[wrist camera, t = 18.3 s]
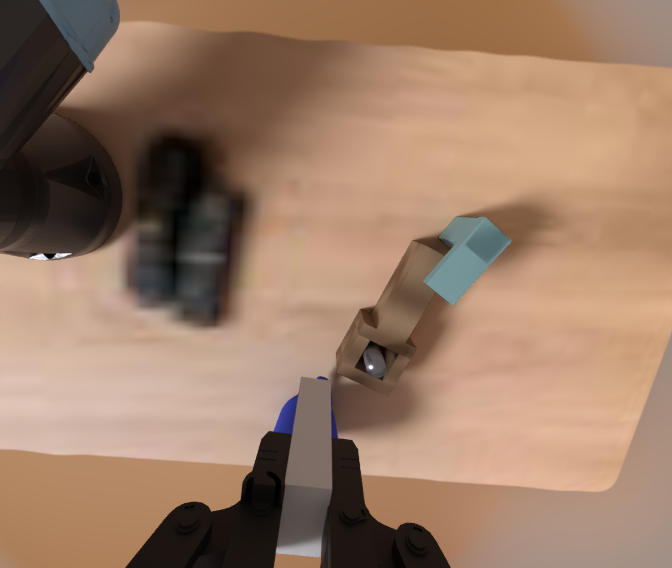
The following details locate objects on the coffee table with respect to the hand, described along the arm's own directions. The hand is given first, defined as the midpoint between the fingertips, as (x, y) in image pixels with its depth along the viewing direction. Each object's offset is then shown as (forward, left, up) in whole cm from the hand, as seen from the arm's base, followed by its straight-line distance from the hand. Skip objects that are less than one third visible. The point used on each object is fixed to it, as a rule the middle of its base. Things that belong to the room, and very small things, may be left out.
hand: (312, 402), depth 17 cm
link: (+8, +4, -22) cm, 24 cm away
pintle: (+8, -1, -22) cm, 24 cm away
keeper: (+8, +12, -22) cm, 27 cm away
